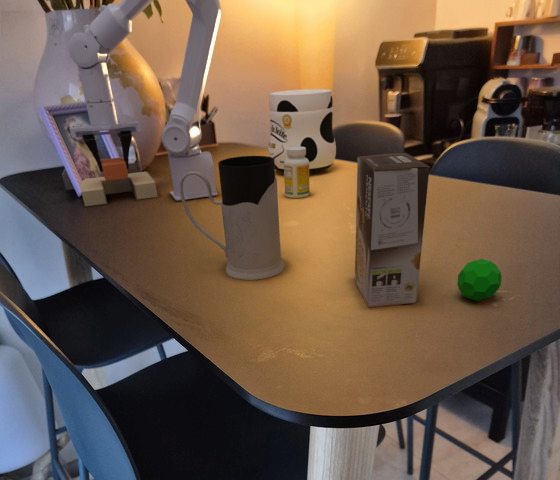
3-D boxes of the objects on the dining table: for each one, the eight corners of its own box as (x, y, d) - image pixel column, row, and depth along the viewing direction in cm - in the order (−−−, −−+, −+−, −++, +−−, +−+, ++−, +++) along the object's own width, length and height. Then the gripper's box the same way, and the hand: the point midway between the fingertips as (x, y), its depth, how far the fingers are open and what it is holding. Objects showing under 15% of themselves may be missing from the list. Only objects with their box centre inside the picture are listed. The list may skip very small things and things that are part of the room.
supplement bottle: (282, 198, 110) (280, 150, 105) (287, 192, 114) (285, 146, 109) (307, 198, 109) (306, 150, 104) (311, 192, 113) (310, 145, 108)
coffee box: (418, 303, 63) (432, 165, 54) (367, 308, 63) (373, 170, 54) (397, 276, 71) (407, 151, 62) (352, 279, 71) (355, 155, 62)
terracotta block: (125, 171, 120) (122, 157, 118) (128, 178, 114) (125, 162, 112) (103, 174, 119) (99, 159, 117) (105, 180, 112) (102, 165, 111)
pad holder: (149, 185, 128) (146, 171, 127) (157, 196, 117) (155, 182, 115) (82, 193, 124) (79, 179, 122) (85, 206, 113) (81, 191, 111)
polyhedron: (504, 305, 62) (512, 267, 59) (464, 308, 61) (470, 270, 59) (487, 288, 66) (493, 252, 63) (449, 291, 66) (454, 255, 63)
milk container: (256, 174, 132) (250, 95, 123) (293, 161, 144) (290, 88, 134) (313, 180, 124) (312, 95, 114) (347, 166, 135) (349, 88, 126)
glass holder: (278, 280, 72) (272, 167, 64) (182, 278, 74) (164, 169, 66) (288, 258, 79) (284, 154, 71) (200, 257, 81) (186, 156, 73)
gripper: (63, 106, 103) (81, 176, 110) (136, 100, 107) (148, 168, 114) (63, 103, 109) (80, 171, 116) (133, 98, 113) (144, 163, 120)
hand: (114, 169), depth 116 cm, fingers closed on terracotta block, 5 cm apart
